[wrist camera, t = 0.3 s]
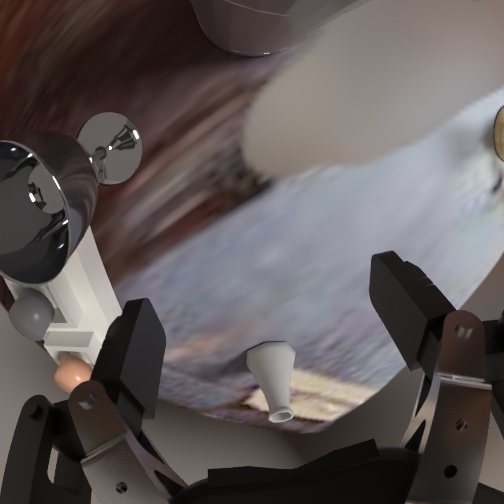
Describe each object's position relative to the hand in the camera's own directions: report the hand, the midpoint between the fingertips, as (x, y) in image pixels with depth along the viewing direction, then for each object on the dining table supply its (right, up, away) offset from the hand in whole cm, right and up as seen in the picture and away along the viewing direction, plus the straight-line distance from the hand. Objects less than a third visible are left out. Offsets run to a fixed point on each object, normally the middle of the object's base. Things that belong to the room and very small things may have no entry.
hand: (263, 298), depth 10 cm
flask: (+2, -13, +29) cm, 32 cm away
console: (-22, -5, +21) cm, 31 cm away
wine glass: (-14, +11, +13) cm, 22 cm away
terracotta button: (-22, -12, +18) cm, 31 cm away
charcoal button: (-22, -4, +13) cm, 26 cm away
